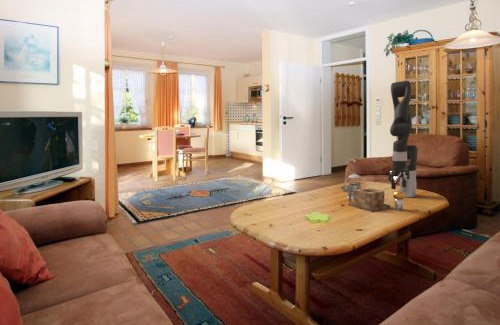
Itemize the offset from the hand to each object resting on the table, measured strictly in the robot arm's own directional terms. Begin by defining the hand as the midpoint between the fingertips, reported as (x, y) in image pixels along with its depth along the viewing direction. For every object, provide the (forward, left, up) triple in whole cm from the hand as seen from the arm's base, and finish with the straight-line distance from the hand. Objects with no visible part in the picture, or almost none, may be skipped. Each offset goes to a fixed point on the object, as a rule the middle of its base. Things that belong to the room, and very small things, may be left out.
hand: (398, 188), depth 195 cm
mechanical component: (+9, -29, -13) cm, 33 cm away
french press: (-1, -36, -13) cm, 38 cm away
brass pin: (0, 0, -12) cm, 12 cm away
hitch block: (+8, -14, -12) cm, 20 cm away
